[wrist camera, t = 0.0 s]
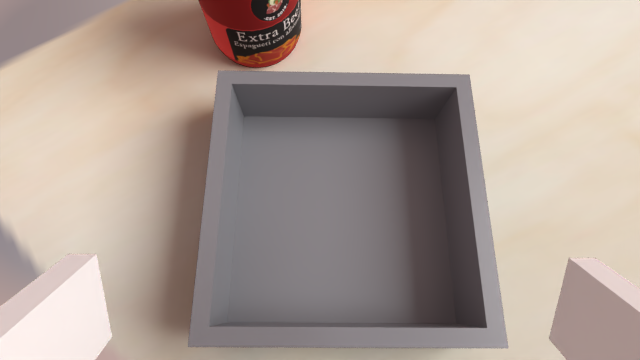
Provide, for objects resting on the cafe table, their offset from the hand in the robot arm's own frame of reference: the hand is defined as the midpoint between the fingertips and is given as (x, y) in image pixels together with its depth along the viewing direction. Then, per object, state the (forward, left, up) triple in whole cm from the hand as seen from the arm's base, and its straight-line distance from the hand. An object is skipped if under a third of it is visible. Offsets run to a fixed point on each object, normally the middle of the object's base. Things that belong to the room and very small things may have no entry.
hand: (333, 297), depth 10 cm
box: (+6, -1, -15) cm, 17 cm away
